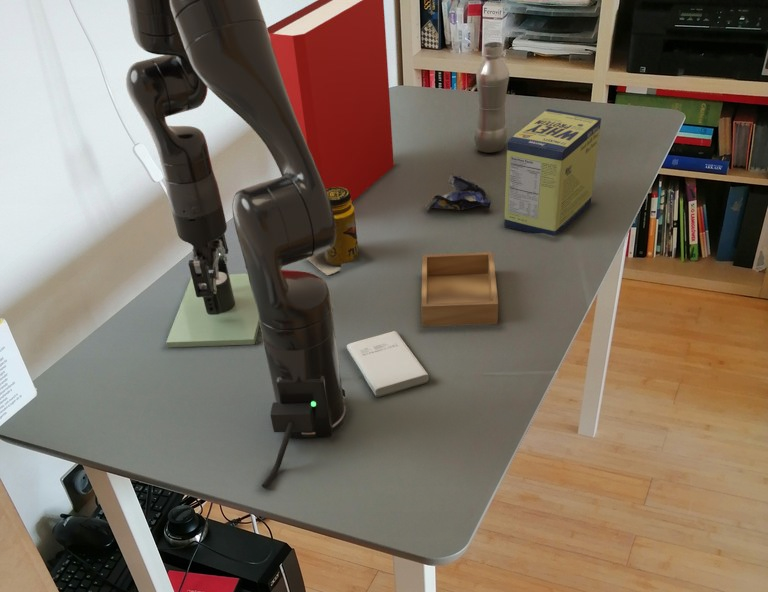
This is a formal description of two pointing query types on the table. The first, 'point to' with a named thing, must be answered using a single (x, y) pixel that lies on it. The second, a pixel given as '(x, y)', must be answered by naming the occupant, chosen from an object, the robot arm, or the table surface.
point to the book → (339, 88)
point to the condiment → (339, 233)
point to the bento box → (459, 289)
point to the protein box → (550, 171)
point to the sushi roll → (224, 292)
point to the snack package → (460, 196)
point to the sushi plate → (216, 319)
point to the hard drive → (387, 363)
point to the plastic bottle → (491, 99)
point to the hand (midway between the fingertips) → (219, 299)
